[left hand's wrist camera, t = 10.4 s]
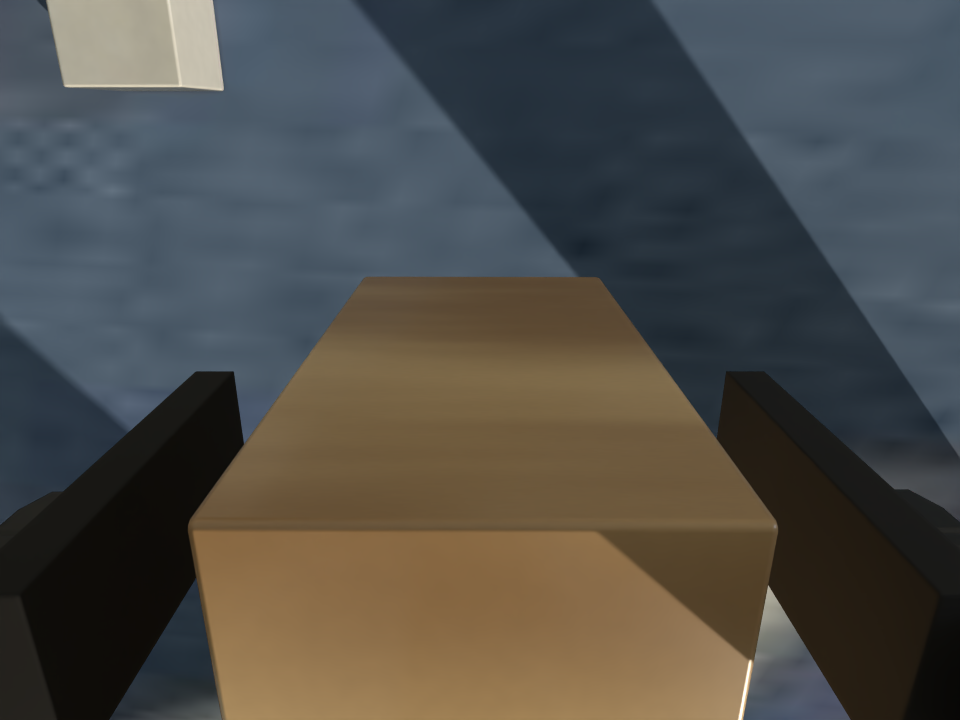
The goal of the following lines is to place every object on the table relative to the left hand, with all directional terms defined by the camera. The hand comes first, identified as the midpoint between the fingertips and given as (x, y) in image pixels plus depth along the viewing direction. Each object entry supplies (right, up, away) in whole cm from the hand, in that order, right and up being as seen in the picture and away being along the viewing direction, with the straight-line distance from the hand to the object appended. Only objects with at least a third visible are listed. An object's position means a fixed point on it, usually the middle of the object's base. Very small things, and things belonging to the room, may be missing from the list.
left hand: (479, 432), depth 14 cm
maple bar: (0, -8, +4) cm, 9 cm away
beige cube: (-12, +14, +12) cm, 22 cm away
